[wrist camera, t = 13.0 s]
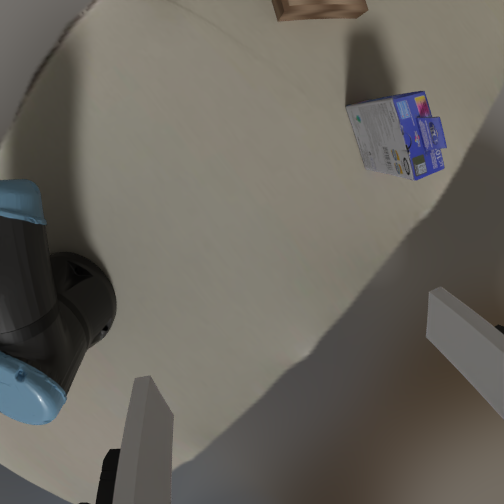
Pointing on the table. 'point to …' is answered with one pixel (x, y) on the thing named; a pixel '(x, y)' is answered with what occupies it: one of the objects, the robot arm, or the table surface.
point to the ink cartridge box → (398, 135)
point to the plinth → (318, 9)
